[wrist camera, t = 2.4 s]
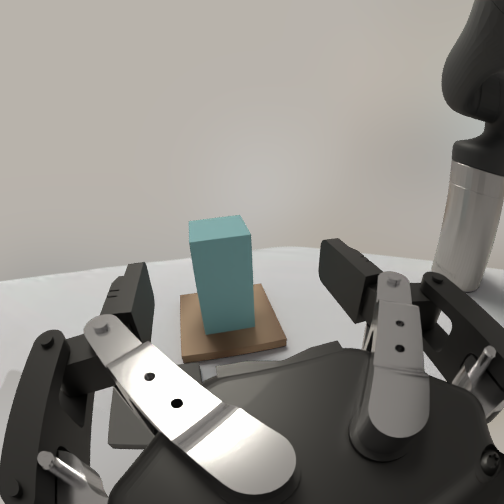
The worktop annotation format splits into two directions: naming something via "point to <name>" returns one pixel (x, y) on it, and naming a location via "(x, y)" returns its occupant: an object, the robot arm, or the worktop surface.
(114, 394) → the coaster mat
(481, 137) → the robot arm
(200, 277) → the teal block
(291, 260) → the worktop surface
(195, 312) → the walnut base
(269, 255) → the worktop surface
